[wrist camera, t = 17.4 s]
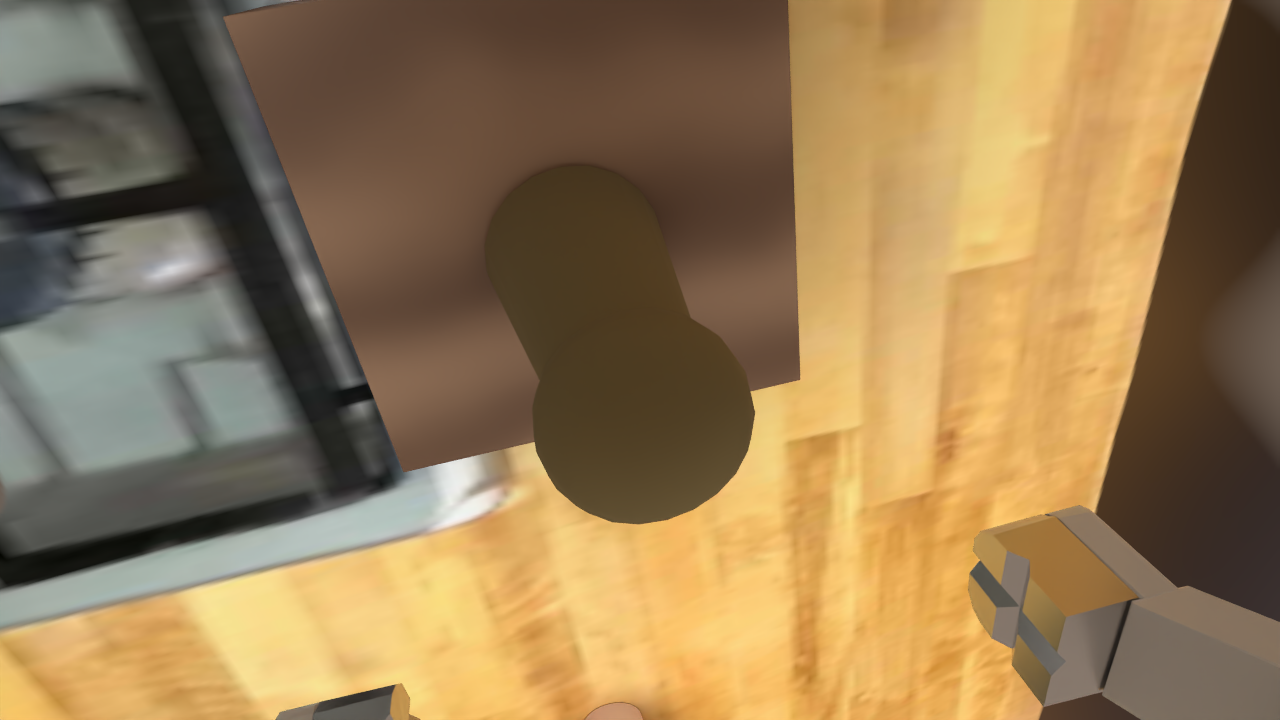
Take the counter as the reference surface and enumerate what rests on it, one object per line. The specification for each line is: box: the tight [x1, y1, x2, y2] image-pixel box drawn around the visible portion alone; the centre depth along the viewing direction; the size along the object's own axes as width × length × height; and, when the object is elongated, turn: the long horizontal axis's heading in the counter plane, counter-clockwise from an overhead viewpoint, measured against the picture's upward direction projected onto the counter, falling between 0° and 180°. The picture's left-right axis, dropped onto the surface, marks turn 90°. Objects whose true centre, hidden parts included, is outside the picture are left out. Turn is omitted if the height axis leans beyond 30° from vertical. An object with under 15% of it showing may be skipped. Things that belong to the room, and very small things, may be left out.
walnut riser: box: [223, 0, 800, 472], centre depth 27 cm, size 16×16×5 cm
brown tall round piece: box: [485, 166, 755, 524], centre depth 20 cm, size 6×6×11 cm
